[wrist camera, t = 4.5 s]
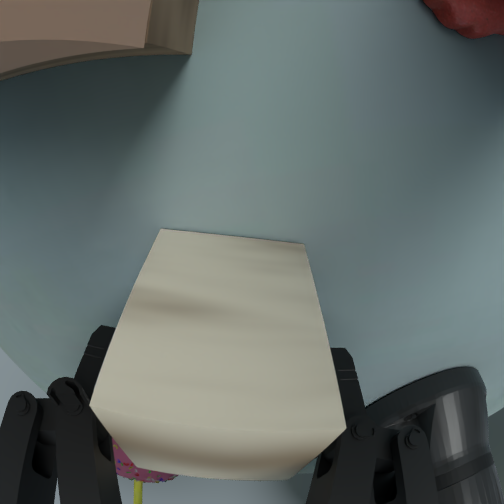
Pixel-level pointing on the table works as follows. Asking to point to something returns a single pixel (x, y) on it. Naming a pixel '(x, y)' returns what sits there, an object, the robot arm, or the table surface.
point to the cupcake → (136, 472)
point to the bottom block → (156, 40)
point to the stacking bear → (470, 16)
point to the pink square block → (68, 28)
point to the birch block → (221, 362)
